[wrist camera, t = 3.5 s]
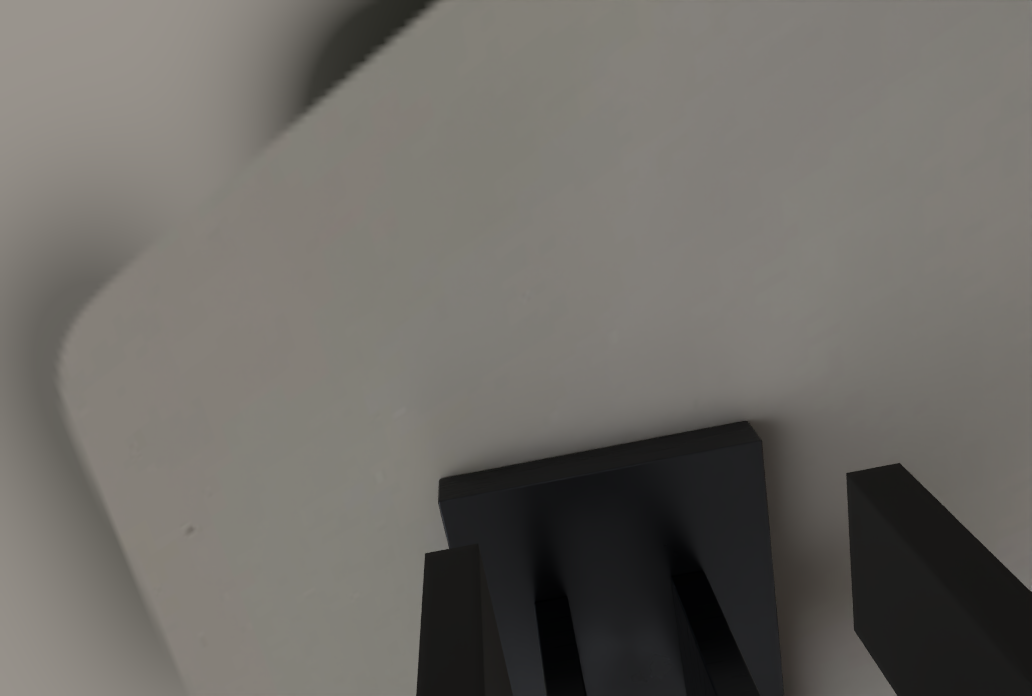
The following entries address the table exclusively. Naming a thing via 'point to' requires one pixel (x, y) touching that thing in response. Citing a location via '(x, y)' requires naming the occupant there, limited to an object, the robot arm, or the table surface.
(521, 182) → the table surface
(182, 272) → the table surface
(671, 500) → the bracket
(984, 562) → the robot arm
